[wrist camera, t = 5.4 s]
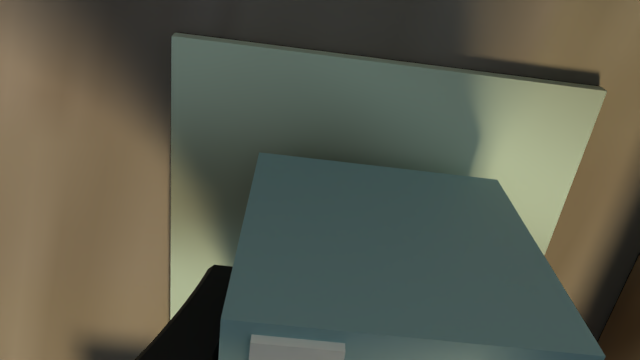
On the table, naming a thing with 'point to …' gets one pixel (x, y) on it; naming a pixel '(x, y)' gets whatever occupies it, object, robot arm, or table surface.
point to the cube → (391, 270)
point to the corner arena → (366, 141)
